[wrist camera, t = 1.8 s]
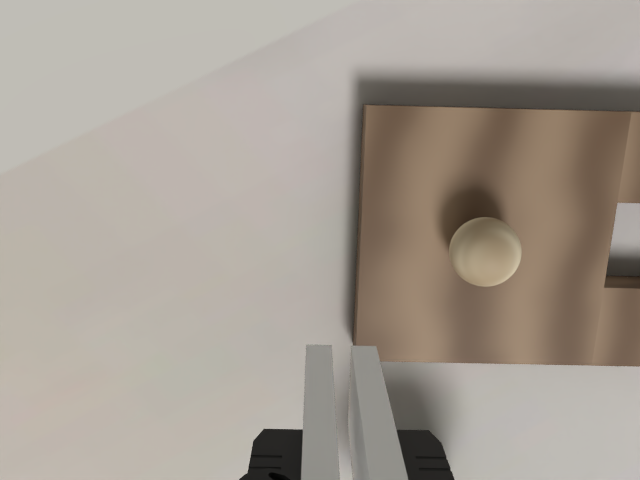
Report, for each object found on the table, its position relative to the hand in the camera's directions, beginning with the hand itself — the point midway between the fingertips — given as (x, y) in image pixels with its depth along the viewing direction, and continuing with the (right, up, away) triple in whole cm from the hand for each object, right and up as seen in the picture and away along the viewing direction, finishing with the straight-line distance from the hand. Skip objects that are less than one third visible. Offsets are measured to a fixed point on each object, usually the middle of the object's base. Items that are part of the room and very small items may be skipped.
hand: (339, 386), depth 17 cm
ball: (+9, +4, +15) cm, 18 cm away
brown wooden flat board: (+14, +5, +20) cm, 25 cm away
